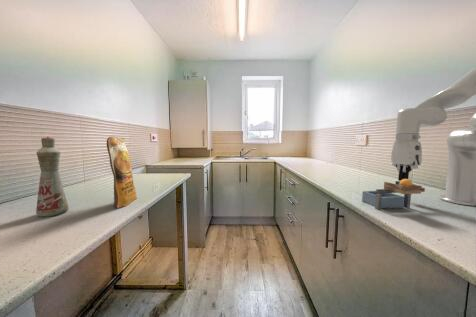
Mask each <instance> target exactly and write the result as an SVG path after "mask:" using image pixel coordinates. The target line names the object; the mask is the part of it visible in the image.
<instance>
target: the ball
mask: <svg viewBox="0 0 476 317" xmlns="http://www.w3.org/2000/svg"><path fill="white" fill-rule="evenodd" d="M413 184H414V183H413V181H412V180H410V179H409V178H408V179H403V180H401V181H400V185H402V186H412V185H413Z"/></svg>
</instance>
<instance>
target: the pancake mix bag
mask: <svg viewBox="0 0 476 317" xmlns="http://www.w3.org/2000/svg"><path fill="white" fill-rule="evenodd" d="M106 150H107V153H108V158H109V166H110V169H111V171H112V175H113V207H114V208H115V209H119V208H122V207H123V208H124V207H126V206H128V205H130V204H131V203H133V202H134V201H135V200H136V199H137V198H138V196H137V191H136V187H135V183H134V175H133V170H132V164H131V162H132V161H131V158H130V154H129V150H128V148H127V144H126V141H125V138H124V137H117V136H108V137H107V139H106Z"/></svg>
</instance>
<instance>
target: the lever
mask: <svg viewBox="0 0 476 317" xmlns="http://www.w3.org/2000/svg"><path fill="white" fill-rule="evenodd" d="M425 190H426V188H425V187H423V186H422V185H420V184H415V183H413V185H412V186H402V185H400V181H399V180H397V181H395V183H393V182H388V181H384V182H383V188H376V190H375V191H376V193H393V194H397V193H398V194H401V195H404V194H411V195H416V194H422V193H424V192H425Z"/></svg>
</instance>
